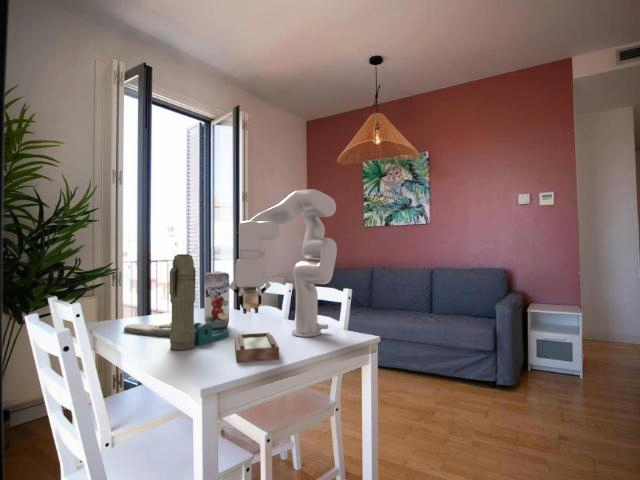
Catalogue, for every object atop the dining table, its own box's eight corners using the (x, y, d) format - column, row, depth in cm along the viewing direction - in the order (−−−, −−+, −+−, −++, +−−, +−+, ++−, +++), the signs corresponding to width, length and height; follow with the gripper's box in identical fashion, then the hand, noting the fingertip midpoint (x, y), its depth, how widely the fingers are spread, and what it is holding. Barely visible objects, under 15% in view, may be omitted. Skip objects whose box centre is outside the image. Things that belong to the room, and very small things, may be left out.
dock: (271, 345, 143) (272, 331, 143) (278, 359, 126) (278, 343, 126) (234, 347, 140) (234, 333, 140) (236, 362, 122) (236, 346, 122)
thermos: (161, 351, 135) (162, 254, 136) (182, 342, 147) (182, 254, 147) (182, 353, 133) (183, 255, 133) (201, 344, 144) (202, 254, 145)
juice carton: (203, 327, 174) (204, 269, 175) (226, 325, 179) (226, 269, 179) (206, 331, 166) (206, 270, 167) (230, 329, 171) (230, 270, 171)
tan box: (256, 308, 138) (256, 281, 138) (258, 313, 128) (258, 284, 128) (242, 309, 137) (242, 282, 137) (243, 314, 127) (243, 285, 127)
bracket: (198, 346, 142) (199, 325, 142) (186, 344, 146) (187, 323, 146) (232, 336, 158) (232, 317, 158) (220, 334, 161) (220, 316, 161)
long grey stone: (135, 331, 172) (117, 338, 163) (134, 320, 172) (116, 326, 162) (200, 333, 162) (185, 339, 152) (199, 321, 162) (184, 327, 152)
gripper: (272, 254, 138) (272, 303, 138) (225, 255, 134) (225, 305, 134) (274, 255, 131) (275, 307, 131) (225, 256, 127) (225, 309, 127)
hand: (250, 306), depth 133 cm, fingers closed on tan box, 5 cm apart
